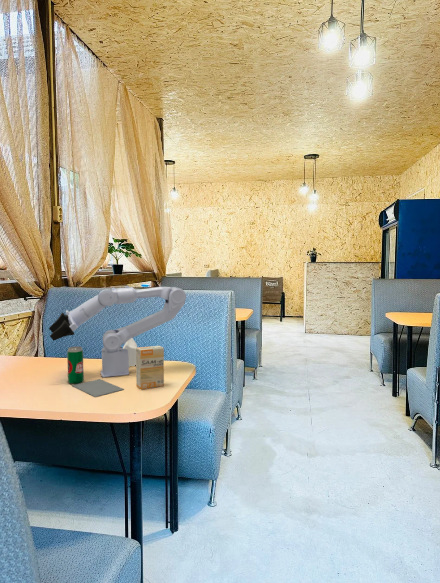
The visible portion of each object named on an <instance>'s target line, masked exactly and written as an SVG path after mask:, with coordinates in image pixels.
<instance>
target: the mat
mask: <svg viewBox="0 0 440 583" xmlns="http://www.w3.org/2000/svg"><path fill="white" fill-rule="evenodd" d="M71 386H72V387H73V388H75V389H76V390H79V391H81V392H83V393H85V394H87V395H89V396H92V398H97V397H102V396H105V395H109V394H113V393H117V392H121V391H124V390H125V388H123V387H120V386H118V385H116V384H113V383H110V382H108V381H105V380H103V379H101V378H99V379H95V380H91V381H90V380H89V381H85V382H82V383H79V384H71Z"/></svg>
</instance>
